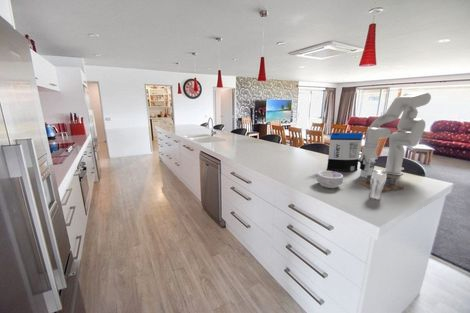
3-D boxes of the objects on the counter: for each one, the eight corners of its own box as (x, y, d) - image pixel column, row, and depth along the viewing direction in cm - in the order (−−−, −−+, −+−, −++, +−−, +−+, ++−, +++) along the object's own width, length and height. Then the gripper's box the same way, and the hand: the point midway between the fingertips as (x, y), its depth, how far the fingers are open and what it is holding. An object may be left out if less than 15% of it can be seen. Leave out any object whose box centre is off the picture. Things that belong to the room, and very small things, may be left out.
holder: (378, 180, 146) (380, 172, 145) (403, 188, 132) (405, 179, 130) (357, 183, 140) (358, 174, 138) (380, 192, 125) (382, 183, 123)
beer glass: (364, 195, 121) (368, 170, 118) (376, 194, 122) (380, 170, 118) (373, 200, 114) (378, 174, 111) (385, 200, 115) (390, 173, 111)
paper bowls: (311, 183, 139) (312, 172, 137) (328, 180, 145) (329, 169, 143) (329, 191, 126) (330, 179, 124) (347, 188, 131) (349, 176, 130)
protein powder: (360, 172, 165) (366, 133, 158) (329, 171, 165) (333, 133, 158) (353, 168, 174) (359, 132, 167) (324, 168, 174) (328, 132, 167)
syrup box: (367, 178, 150) (370, 158, 147) (359, 175, 155) (362, 156, 152) (372, 177, 153) (375, 157, 149) (364, 174, 158) (367, 156, 155)
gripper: (374, 144, 155) (370, 166, 159) (357, 145, 149) (353, 168, 153) (384, 145, 148) (380, 169, 152) (366, 146, 142) (362, 171, 146)
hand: (366, 168), depth 153 cm, fingers open, 9 cm apart
